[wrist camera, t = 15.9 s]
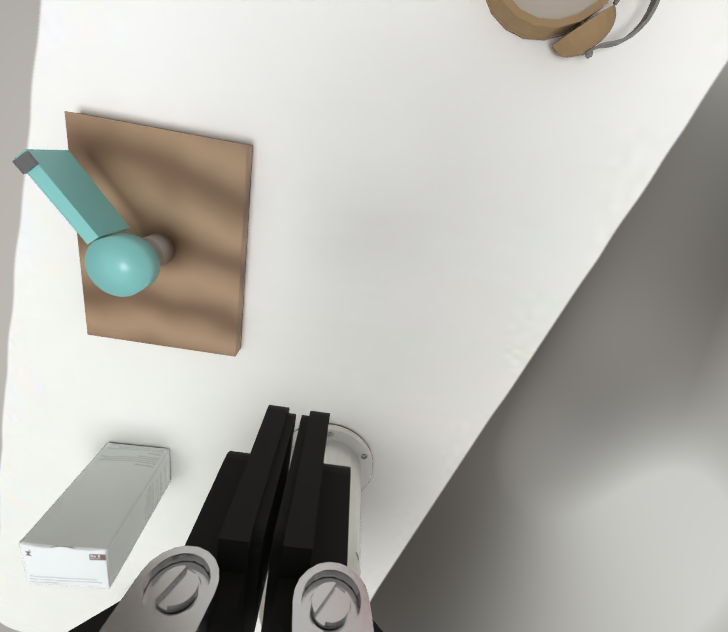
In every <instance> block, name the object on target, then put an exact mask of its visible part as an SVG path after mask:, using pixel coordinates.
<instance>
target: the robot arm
mask: <svg viewBox="0 0 728 632" xmlns="http://www.w3.org/2000/svg"><path fill="white" fill-rule="evenodd" d="M329 417H330V413H323V412H316V411H311V412H310V416H305V415H302V417H301V421H300V425H299V430H297V431H295V432H294V427H295V419H296V414H291V413H289V408H288V407H280V406H273V405H269V406H268V409H267V411H266V414H265V416H264V419H263V422H262V424H261V427H260V430H259V432H258V435H257V438H256V440H255V443H254V445H253V448H252V451H251V453H250V454H249V453H242V452H234V451H229V452H228V453H227V455H226V457H225V459H224V461H223V464H222V466H221V468H220V470H219V472H218V474H217V477H216V479H215V481H214V483H213V485H212V488H211V490H210V492H209V494H208V496H207V498H206V501H205V503H204V505H203V507H202V509H201V511H200V514H199V516H198V518H197V520H196V522H195V525H194V527H193V529H192V531H191V533H190V535H189V538H188V540H187V542H186V544H185V546H183V547H177V548H173V549H171V550H168V551H166V552H164V553H162V554H160V555H159V556H157V557H156V558H155V559H153V560H152V561H150V562H149V564H148V565H147V566H146V567H145V568H144V569H143V570H142V571H141V572H140V574H139V575H138V577H137V578H136V580H135V581H134V582H133V584H132V585H131V587H130V588H129V590H128V591H127V592H126V594H125V595H124V597H123V598H122V599H121V601H119V602H118V603H116V604H114V605H113V606H111V607H109V608H107V609H106V610H104V611H102V612H101V613H99V614H97V615H96V616H94V617H92V618H91V619H89V620H87V621H85V622H84V623H82V624H80V625H79V626H77V627H75V628H74V629H72V630H70V631H69V632H254V631H255V627H256V622H257V618H258V615H259V619H260V623H261V626H262V629H261V632H383V631H382V630H381V629H380V628H379V627H378V626H377V624H376V623H375V622H374V621H373V619H372V614H371V608H370V601H369V596H368V593H367V589H366V586H365V584H364V583H363V581H362V580H361V578H360V510H361V491H362V490H363V489H364V488H365V487H366V485H367V484H368V482H369V480H370V478H371V475H372V469H373V463H372V456H371V452H370V450H369V448H368V446H367V444H366V443H365V442H364V441H363V440H362V438H360V437H359V436H358V435H357V434H355V433H354V432H352V431H350V430H348V429H346V428H343V427H340V426H336V425H330V424H329Z"/></svg>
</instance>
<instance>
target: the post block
mask: <svg viewBox="0 0 728 632" xmlns="http://www.w3.org/2000/svg"><path fill="white" fill-rule="evenodd" d="M65 119H66V129H67V139H68V148H69V151H70V153H71V154H72V155H73V156H74V158H75V159H76V160H77V161H78V163H79V164H80V165H81V166H82V168H83V169H84V170H85V172H86V173H87V174H88V175H89V177H90V178H91V179H92V180H93V182H94V183H95V184H96V185H97V187H98V188H99V189H100V190H101V192H102V193H103V194H104V195H105V197H106V198H107V199H108V201H109V202H110V203H111V204H112V206H113V207H114V208H115V209H116V211H117V212H118V213H119V214H120V216H121V217H122V218H123V219H124V221H125V222H126V223H127V225H128V226H129V227H130V228H129V229H127V230H126V231H124V232H123V233H131V234H135V235H137V236H139V237H141V238H143V239H144V240H146V241H147V242H148V243H149V244H150V245H151V246H152V247H153V248H154V250H155V251H156V253H157V255H158V258H159V262H160V272H159V275H158V277H157V279H156V280H155V282H154V283H153V284H151V285H150V286H148V287H146V288H145V289H143V290H141V291H140V292H138V293H136V294H134V295H132V296H127V297H119V296H114V295H111V294H108V293H106V292H104V291H103V290H101V289H100V288H99V287H97V286H96V285H95V284H94V283H93V281H92V280H91V279H90V277H89V275H88V273H87V271H86V268H85V261H84V259H85V253H86V251H87V249H88V247H89V246H90V245H91V244H92V243H90V244H87V243H86V242H85V241H84V240H83V239H82V237H81V236H80V235H79V234H78V233H77V236H78V245H79V255H80V265H81V274H82V284H83V294H84V303H85V313H86V323H87V332H88V335H95V336H101V337H108V338H115V339H121V340H128V341H135V342H141V343H148V344H155V345H162V346H168V347H175V348H182V349H188V350H195V351H202V352H208V353H215V354H222V355H228V356H236V355H237V353H238V352H239V350H240V348H241V332H242V316H243V299H244V283H245V266H246V250H247V233H248V217H249V200H250V184H251V167H252V151H253V146H251V145H246V144H240V143H235V142H230V141H224V140H219V139H214V138H208V137H203V136H197V135H192V134H187V133H181V132H176V131H171V130H165V129H160V128H154V127H149V126H144V125H138V124H133V123H128V122H122V121H117V120H112V119H106V118H101V117H95V116H90V115H85V114H79V113H73V112H67V111H65Z"/></svg>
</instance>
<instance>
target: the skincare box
mask: <svg viewBox="0 0 728 632" xmlns="http://www.w3.org/2000/svg"><path fill="white" fill-rule="evenodd" d="M169 483H170V450H169V449H165V448H154V447H145V446H135V445H125V444H115V443H107V444H106V445H105V446H104V447H103V448H102V449H101V451H100V452H99V453H98V454H97V455H96V456H95V457H94V459H93V460H92V461H91V462H90V463H89V464H88V465H87V467H86V468H85V469H84V470H83V471H82V472H81V473H80V475H79V476H78V477H77V478H76V479H75V480H74V481H73V483H72V484H71V485H70V486H69V487H68V488H67V489H66V490H65V492H64V493H63V494H62V495H61V496H60V497H59V498H58V499H57V501H56V502H55V503H54V504H53V505H52V506H51V507H50V509H49V510H48V511H47V512H46V513H45V514H44V515H43V517H42V518H41V519H40V520H39V521H38V522H37V523H36V524H35V526H34V527H33V528H32V529H31V530H30V531H29V532H28V533H27V535H26V536H25V537H24V538H23V539H22V540H21V541H20V542H19V547H20V551H21V555H22V560H23V564H24V568H25V574H26V580H27V583H28V584H40V585H60V586H77V587H92V588H104V589H110V587H111V585H112V584H113V582H114V580H115V578H116V577H117V575H118V573H119V572H120V570H121V568H122V566H123V564H124V563H125V561H126V559H127V558H128V556H129V554H130V552H131V550H132V549H133V547H134V545H135V543H136V541H137V540H138V538H139V536H140V534H141V533H142V531H143V529H144V527H145V526H146V524H147V522H148V520H149V518H150V517H151V515H152V513H153V512H154V510H155V508H156V506H157V504H158V503H159V501H160V499H161V497H162V495H163V494H164V492H165V490H166V489H167V487H168V485H169Z"/></svg>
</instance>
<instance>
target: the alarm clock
mask: <svg viewBox="0 0 728 632" xmlns="http://www.w3.org/2000/svg"><path fill="white" fill-rule="evenodd" d="M608 1H609V0H486V2H487V4H488V7H489V9H490V11H491V14H492V15H493V16H494V17H495V18H496V19H497V20H498V22H499V23H500V24H501V25H502V26H503V27H504V28H505V29H506V30H508V31H510V32H512V33H514V34H516V35H518V36H520V37H522V38H526V39H537V40H546V39H549V38H553V37H557V36H560V35H564V34H566V33H568V32H569V31H571V30H572V29H574V28H575V27H577V26H578V25H580V24H581V26H579V27H578V28H576V29H575V30H573V31H572V32H571V33H569V34H568V35H566V36H565V37H563V38H562V39H561V40H559V41H558V42H557V43H555V44H554V45H553V48H554V50H555V51H556V53H557V54H559V55H560V56H563V57H573V56H577V55H580V54H582V53H584V52H585V53H584V54H585V57H586V58H587V59H588V58H590V57H592V55H593V50H594V49H597V48H607V47H612V46H616V45H618V44H620V43H622V42H624V41H626V40H628V39H629V38H631V37H633V36H634V35H635V34H636V33H638V32H639V31H640V30H641V29H642V28H643V27H644V26H645V25H646V24H647V22H648V21H649V20H650V19H651V17H652V15H653V14H654V12H655V10H656V8H657V6H658V4H659V2H660V0H651V2H650V5H649V7H648V9H647V11H646V14H645V15H644V17H643V18H642V20H641V22H640V23H639V24H638V25H637V26H636V28H635V29H634V30H633V31H632V32H631V33H629V34H628V35H627V36H626V37H624V38H623V39H619V40H616V41H610V42H604V43H601V44H599V45H598V46H596V45H597V44H598V43H599V42H601V41H602V40H603V39H604V38H605V37H606V35H607V34H608V33H609V32H610V30H611V29H612V27H613V25H614V22H615V18H616V8H615V5H617V4H618V2H619V1H620V0H614V2H613V4H614V5H613V6H611V7H609V8H608V9H606V10H604V11H603V12H601V13H599V14H598V15H596V16H595V17H593V18H592V19H590V20H588V21H587V22H585V21H586V20H587V19H588V18H589V17H590V16H591V15H592V14H594V13H595V12H596V11H598V10H600V9H601V8H602V7H603V6H604V5H605V4H606V3H607V2H608ZM594 46H596V47H594ZM593 47H594V48H593ZM591 48H592V49H591ZM584 54H582V56H583V55H584Z"/></svg>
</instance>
